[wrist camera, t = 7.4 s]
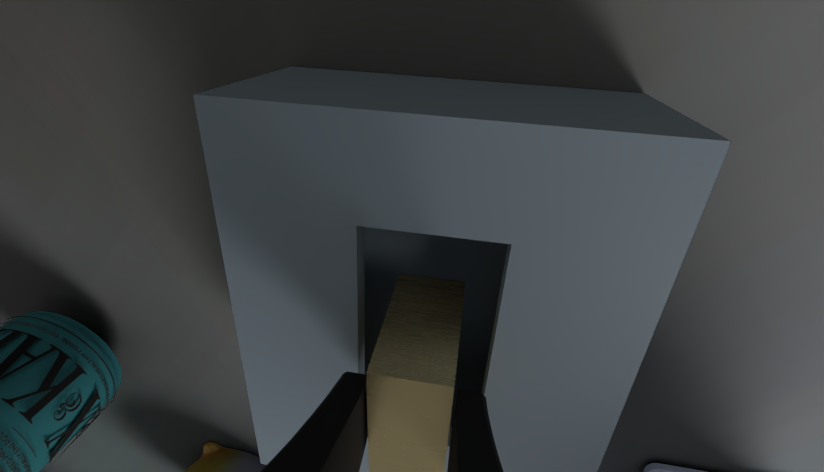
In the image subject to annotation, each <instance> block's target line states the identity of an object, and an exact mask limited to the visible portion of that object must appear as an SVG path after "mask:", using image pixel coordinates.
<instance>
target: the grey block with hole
mask: <svg viewBox="0 0 824 472" xmlns="http://www.w3.org/2000/svg"><path fill="white" fill-rule="evenodd" d="M193 98H194V104H195V109H196V115H197V120H198V125H199V131H200V136H201V142H202V147H203V153H204V158H205V164H206V169H207V174H208V180H209V185H210V191H211V196H212V202H213V207H214V212H215V218H216V223H217V229H218V234H219V240H220V245H221V250H222V256H223V261H224V267H225V272H226V278H227V283H228V288H229V294H230V299H231V305H232V310H233V316H234V321H235V327H236V332H237V337H238V343H239V348H240V354H241V359H242V365H243V370H244V375H245V381H246V386H247V392H248V397H249V403H250V408H251V413H252V419H253V424H254V430H255V435H256V441H257V446H258V451H259V457H260V462H261V464H265V465H267V464H268V463H269V462H270V461H271V460H272V459H273V458H274V457H275V456H276V455H277V454H278V453H279V452H280V451H281V449H282V448H283V447H284V446H285V445H286V444H287V443H288V442H289V441H290V440H291V439H292V437H293V436H294V435H295V434H296V433H297V432H298V430H299V429H300V428H301V427H302V426H303V424H304V423H305V422H306V421H307V420H308V419H309V417H310V416H311V415H312V414H313V413H314V411H315V410H316V409H317V408H318V406H319V405H320V404H321V403H322V401H323V400H324V399H325V398H326V396H327V395H328V394H329V392H330V391H331V390H332V388H333V387H334V386H335V384H336V383H337V381H338V380H339V378H340V377H341V376H342V374H343V373H345V372H347V371H348V372H354V373H360V374H366V372H367V369H368V366H369V363H370V360H371V357H372V354H373V351H374V348H375V345H376V343H377V340H378V337H379V334H380V331H381V328H382V325H383V322H384V319H385V316H386V313H387V310H388V307H389V304H390V301H391V298H392V295H393V292H394V289H395V286H396V283H397V280H398V277H399V274H400V273H402V274H410V275H418V276H426V277H434V278H441V279H449V280H457V281H465V291H464V300H463V310H462V320H461V329H460V339H459V348H458V358H457V367H456V377H455V387H454V395H453V403H452V411H451V420H450V428H449V436H448V444H447V452H446V461H445V469H444V472H447V469H448V459H449V450H450V441H451V434H452V427H453V419H454V412H455V405H456V398H457V391H458V390H465V391H471V392H477V393H482V394H483V395H484V396H485V397H486V402H487V409H488V415H489V420H490V425H491V429H492V433H493V437H494V441H495V445H496V449H497V452H498V455H499V459H500V462H501V465H502V468H503V471H504V472H597V471H598V469H599V467H600V464H601V462H602V459H603V457H604V454H605V452H606V449H607V447H608V444H609V442H610V439H611V437H612V434H613V432H614V430H615V427H616V425H617V422H618V420H619V417H620V415H621V412H622V410H623V407H624V405H625V402H626V400H627V397H628V395H629V393H630V390H631V388H632V385H633V383H634V380H635V378H636V375H637V373H638V370H639V368H640V365H641V363H642V360H643V358H644V356H645V353H646V351H647V348H648V346H649V343H650V341H651V338H652V336H653V333H654V331H655V328H656V326H657V323H658V321H659V319H660V316H661V314H662V311H663V309H664V306H665V304H666V301H667V299H668V296H669V294H670V291H671V289H672V286H673V284H674V282H675V279H676V277H677V274H678V272H679V269H680V267H681V264H682V262H683V259H684V257H685V254H686V252H687V249H688V247H689V245H690V242H691V240H692V237H693V235H694V232H695V230H696V227H697V225H698V222H699V220H700V217H701V215H702V212H703V210H704V208H705V205H706V203H707V200H708V198H709V195H710V193H711V190H712V188H713V185H714V183H715V180H716V178H717V175H718V173H719V171H720V168H721V166H722V163H723V161H724V158H725V156H726V153H727V151H728V148H729V146H730V143H731V141H730V140H728V139H726V138H724V137H723V136H721V135H719V134H717V133H715V132H714V131H712V130H710V129H708V128H706V127H704V126H703V125H701V124H699V123H697V122H695V121H694V120H692V119H690V118H688V117H686V116H685V115H683V114H681V113H679V112H677V111H676V110H674V109H672V108H670V107H668V106H667V105H665V104H663V103H661V102H659V101H658V100H656V99H654V98H652V97H650V96H648V95H647V94H645V93H634V92H621V91H608V90H595V89H582V88H569V87H555V86H542V85H529V84H516V83H503V82H490V81H477V80H463V79H450V78H437V77H424V76H411V75H398V74H385V73H371V72H358V71H345V70H332V69H319V68H306V67H293V66H291V67H287V68H284V69H280V70H277V71H273V72H270V73H266V74H263V75H259V76H256V77H252V78H249V79H246V80H242V81H239V82H235V83H232V84H228V85H225V86H221V87H218V88H214V89H211V90H207V91H204V92H200V93H197V94H193ZM359 472H369V460H368V437H367V442H366V446H365V450H364V454H363V458H362V462H361V466H360V470H359Z"/></svg>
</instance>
